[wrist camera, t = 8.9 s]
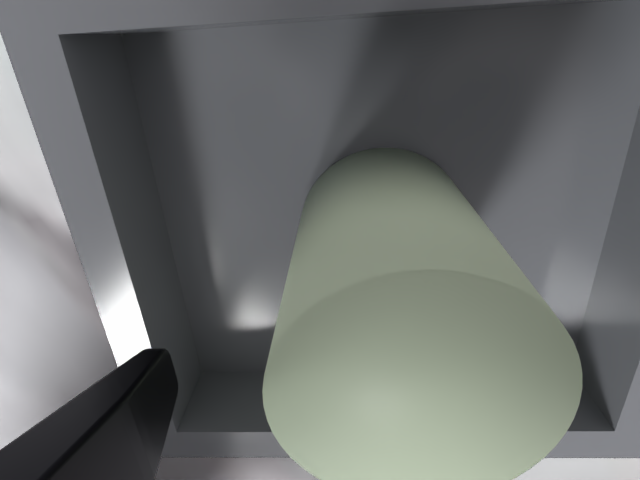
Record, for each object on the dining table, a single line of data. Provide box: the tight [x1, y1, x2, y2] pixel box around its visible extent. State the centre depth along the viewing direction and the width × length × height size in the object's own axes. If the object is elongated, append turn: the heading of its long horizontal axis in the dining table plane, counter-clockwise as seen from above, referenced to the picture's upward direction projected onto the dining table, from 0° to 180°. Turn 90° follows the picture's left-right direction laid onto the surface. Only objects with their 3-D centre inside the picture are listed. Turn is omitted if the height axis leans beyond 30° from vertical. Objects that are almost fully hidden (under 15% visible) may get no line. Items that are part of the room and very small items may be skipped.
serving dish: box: [0, 0, 640, 458], centre depth 12 cm, size 16×14×4 cm
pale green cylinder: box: [262, 148, 582, 480], centre depth 10 cm, size 5×5×7 cm
